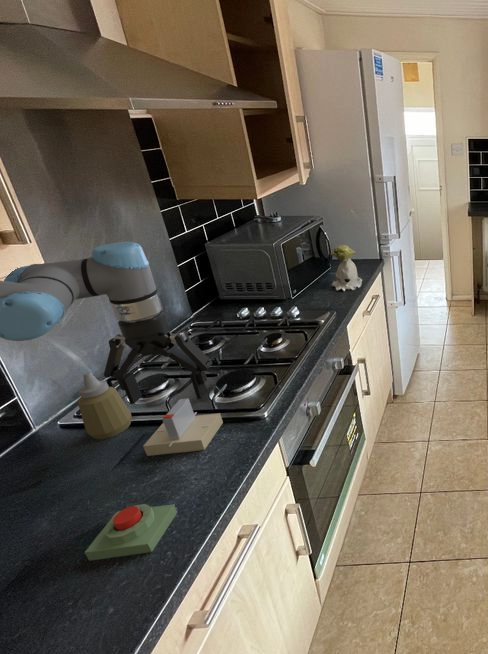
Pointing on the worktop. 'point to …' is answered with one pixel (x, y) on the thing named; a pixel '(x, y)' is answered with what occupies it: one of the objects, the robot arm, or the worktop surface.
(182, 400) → the grey rectangular block
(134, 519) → the button
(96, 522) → the worktop surface
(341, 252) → the white green figurine
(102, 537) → the button box
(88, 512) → the worktop surface
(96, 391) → the squeeze bottle
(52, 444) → the worktop surface
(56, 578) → the worktop surface
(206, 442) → the switch base
